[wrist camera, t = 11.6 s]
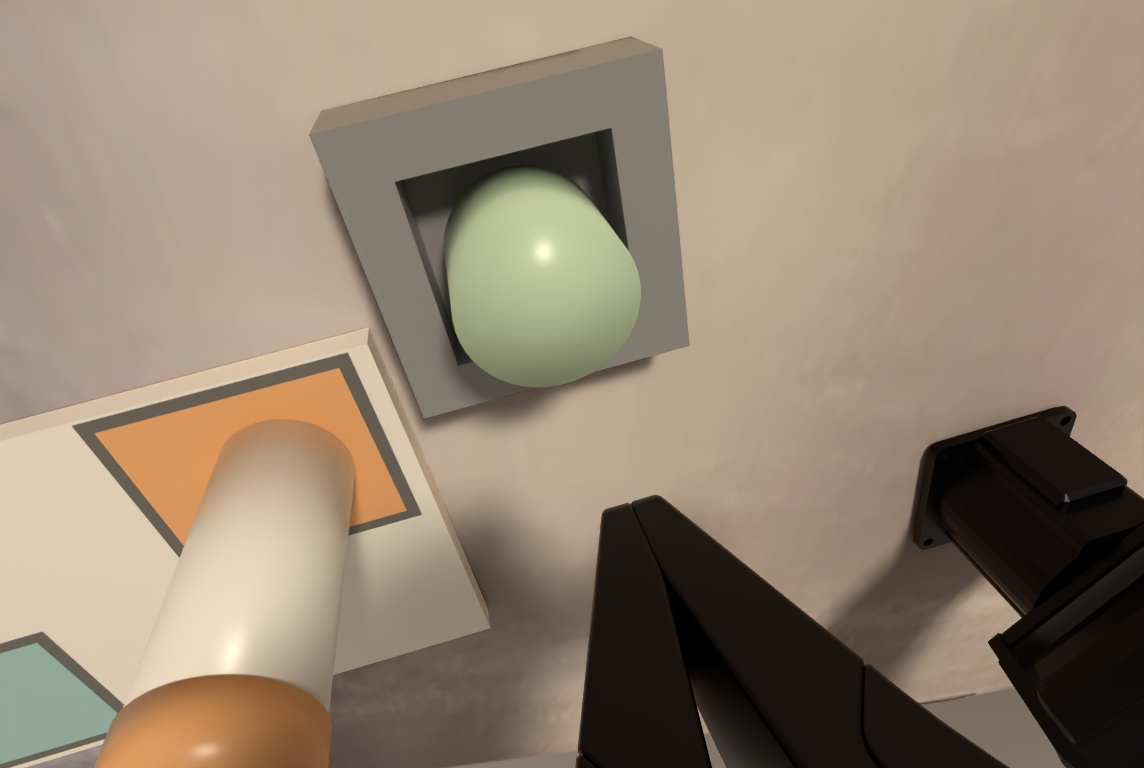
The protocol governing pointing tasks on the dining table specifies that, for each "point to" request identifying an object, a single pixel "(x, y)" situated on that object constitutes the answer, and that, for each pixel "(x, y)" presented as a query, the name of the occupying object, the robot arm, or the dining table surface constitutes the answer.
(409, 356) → the button housing
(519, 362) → the button
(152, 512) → the colouring mat
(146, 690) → the marker
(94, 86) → the dining table surface
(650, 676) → the robot arm
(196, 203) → the dining table surface
